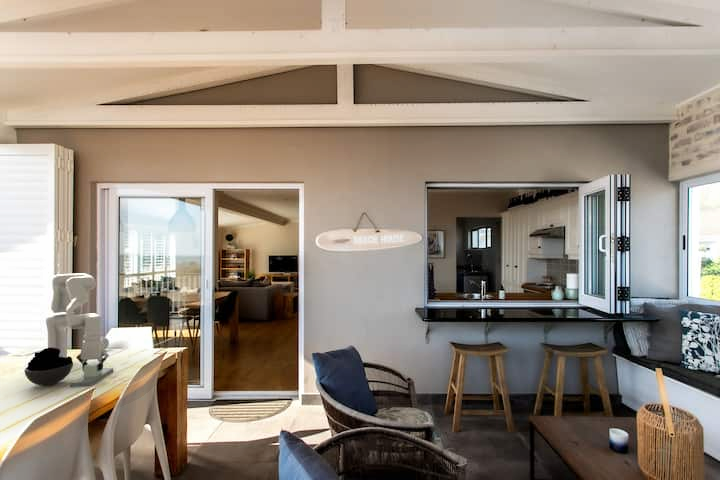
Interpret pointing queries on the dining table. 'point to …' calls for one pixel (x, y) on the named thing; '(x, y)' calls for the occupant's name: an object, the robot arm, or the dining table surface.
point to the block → (91, 370)
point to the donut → (105, 342)
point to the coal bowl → (48, 367)
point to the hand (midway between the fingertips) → (92, 370)
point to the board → (90, 378)
